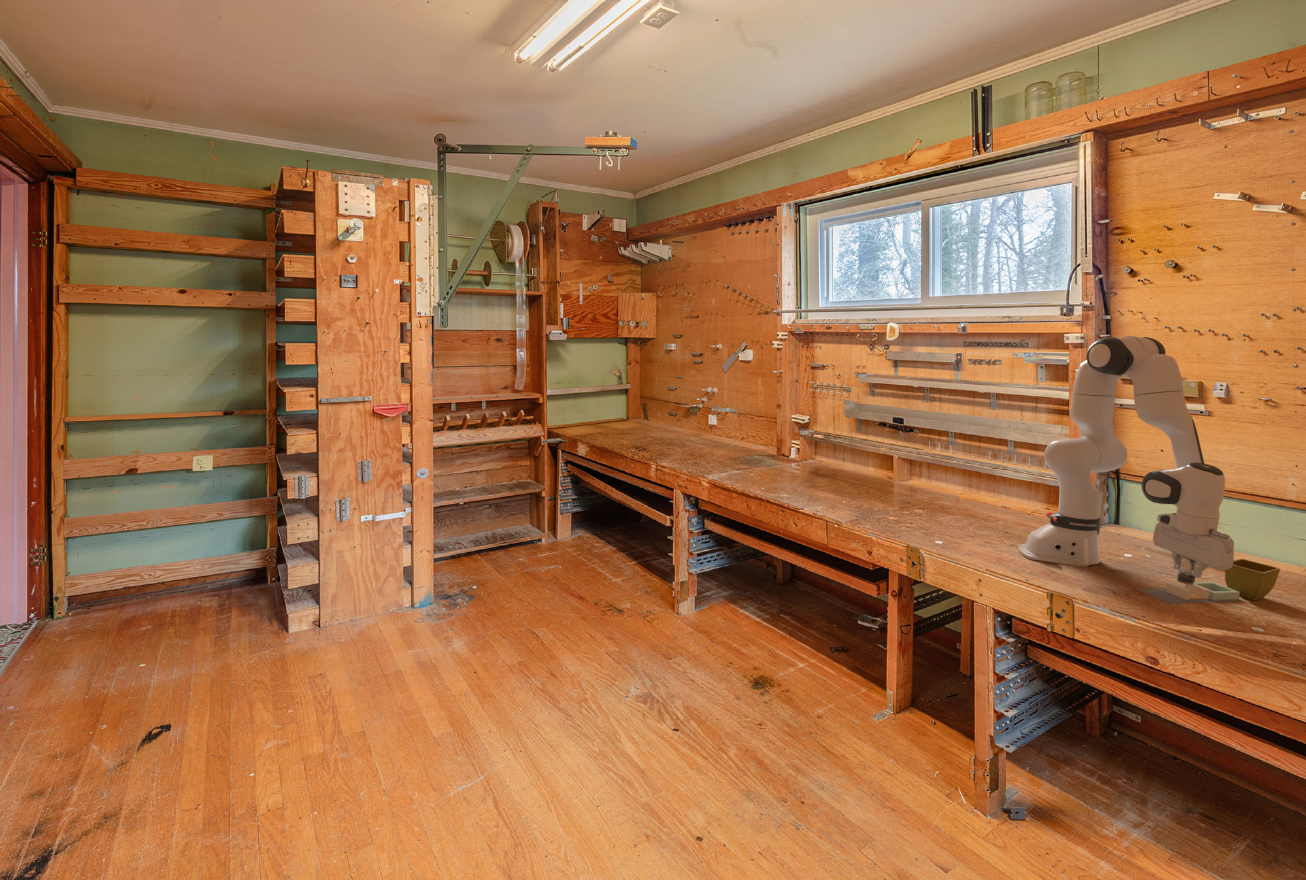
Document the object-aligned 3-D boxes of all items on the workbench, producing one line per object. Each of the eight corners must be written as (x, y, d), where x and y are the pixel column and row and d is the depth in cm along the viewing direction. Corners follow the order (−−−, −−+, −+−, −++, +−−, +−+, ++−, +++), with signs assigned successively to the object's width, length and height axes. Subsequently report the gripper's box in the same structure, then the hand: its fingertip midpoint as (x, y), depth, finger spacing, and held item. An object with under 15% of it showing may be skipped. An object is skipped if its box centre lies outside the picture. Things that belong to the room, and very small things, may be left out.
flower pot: (1258, 605, 171) (1263, 572, 170) (1219, 593, 179) (1223, 562, 178) (1275, 600, 175) (1281, 568, 174) (1236, 588, 183) (1241, 558, 182)
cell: (1180, 583, 174) (1185, 557, 173) (1174, 578, 178) (1178, 552, 176) (1196, 585, 173) (1201, 558, 172) (1190, 580, 176) (1194, 554, 175)
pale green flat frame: (1213, 600, 172) (1214, 593, 171) (1186, 589, 179) (1187, 582, 179) (1238, 599, 173) (1239, 592, 172) (1211, 588, 180) (1212, 581, 180)
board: (1168, 607, 169) (1168, 603, 169) (1135, 592, 179) (1136, 589, 179) (1242, 604, 172) (1243, 601, 171) (1206, 590, 181) (1207, 586, 181)
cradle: (1185, 599, 172) (1187, 591, 171) (1165, 591, 178) (1166, 582, 177) (1208, 599, 172) (1210, 590, 172) (1187, 590, 178) (1189, 581, 178)
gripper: (1245, 536, 163) (1235, 588, 165) (1172, 513, 183) (1164, 559, 185) (1223, 537, 162) (1213, 589, 164) (1152, 513, 182) (1144, 559, 184)
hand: (1187, 573), depth 175 cm, fingers closed on cell, 4 cm apart
